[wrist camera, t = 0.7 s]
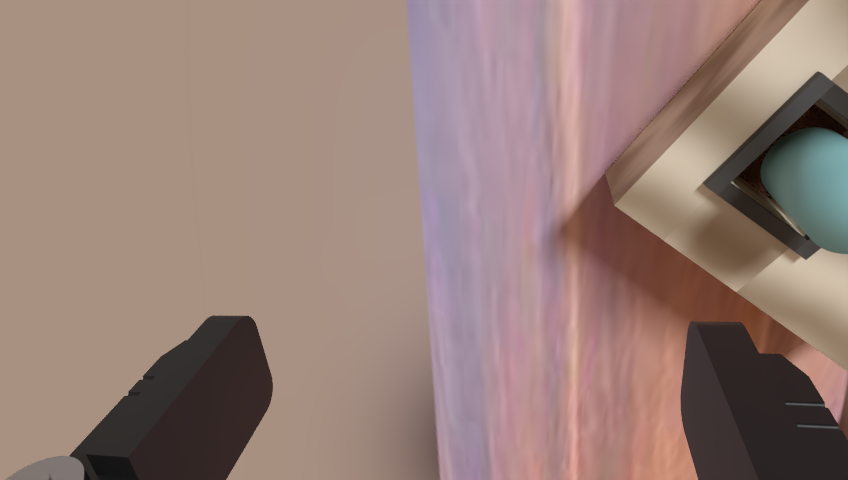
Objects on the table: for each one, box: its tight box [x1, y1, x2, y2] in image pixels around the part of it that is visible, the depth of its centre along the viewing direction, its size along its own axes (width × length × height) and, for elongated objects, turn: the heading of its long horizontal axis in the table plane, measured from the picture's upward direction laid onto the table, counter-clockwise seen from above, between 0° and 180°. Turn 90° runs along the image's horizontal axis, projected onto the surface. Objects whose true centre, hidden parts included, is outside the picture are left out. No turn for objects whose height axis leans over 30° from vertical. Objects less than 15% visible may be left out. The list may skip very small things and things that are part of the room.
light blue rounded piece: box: [760, 127, 848, 254], centre depth 26 cm, size 4×4×6 cm
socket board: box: [605, 0, 848, 371], centre depth 30 cm, size 14×18×6 cm
